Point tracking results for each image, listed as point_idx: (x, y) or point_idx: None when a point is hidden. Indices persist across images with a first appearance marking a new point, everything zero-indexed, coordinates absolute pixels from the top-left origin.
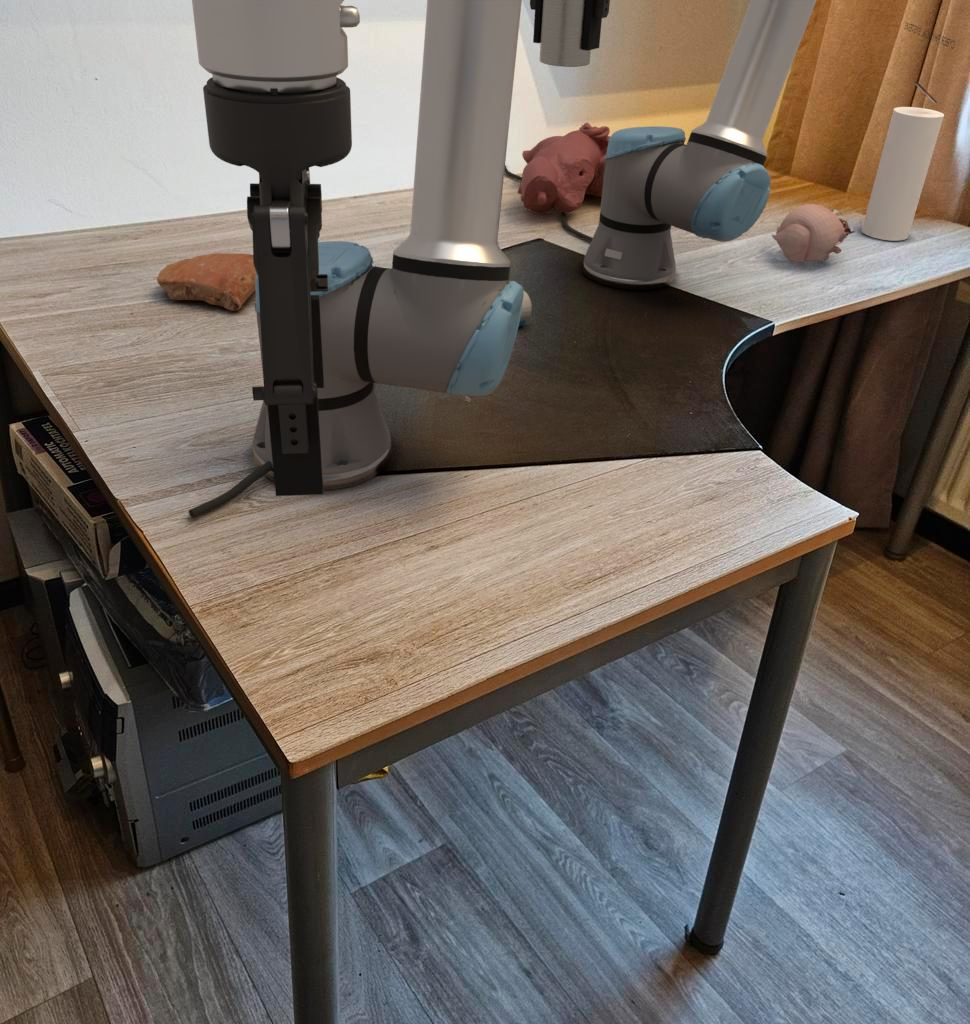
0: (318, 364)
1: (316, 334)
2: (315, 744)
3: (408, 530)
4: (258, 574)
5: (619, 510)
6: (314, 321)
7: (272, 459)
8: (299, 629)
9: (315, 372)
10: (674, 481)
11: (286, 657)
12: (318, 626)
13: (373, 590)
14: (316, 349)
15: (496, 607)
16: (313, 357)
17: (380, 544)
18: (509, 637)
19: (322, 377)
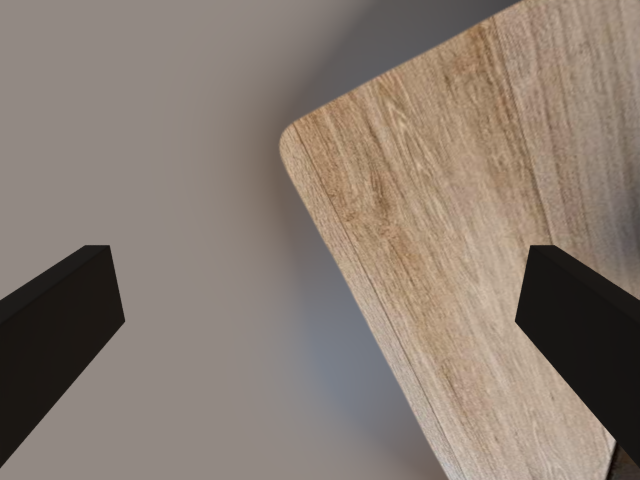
0: (546, 347)
1: (599, 405)
2: (284, 153)
3: (563, 244)
4: (529, 89)
5: (539, 417)
6: (628, 436)
7: (29, 282)
8: (431, 136)
9: (536, 328)
10: (568, 463)
11: (393, 125)
12: (432, 154)
13: (475, 206)
14: (571, 371)
15: (429, 306)
16: (560, 349)
17: (547, 216)
18: (390, 311)
19: (527, 333)
